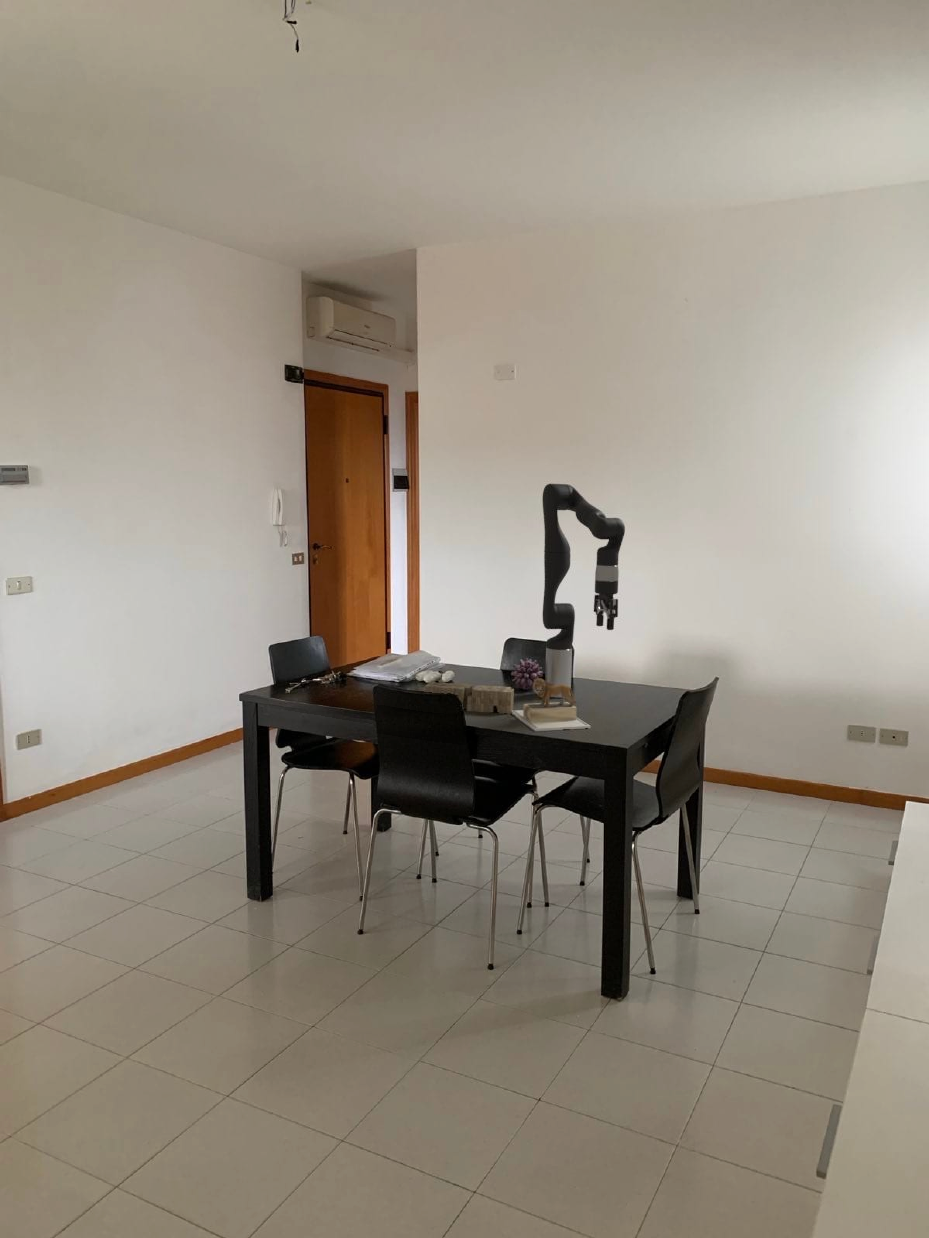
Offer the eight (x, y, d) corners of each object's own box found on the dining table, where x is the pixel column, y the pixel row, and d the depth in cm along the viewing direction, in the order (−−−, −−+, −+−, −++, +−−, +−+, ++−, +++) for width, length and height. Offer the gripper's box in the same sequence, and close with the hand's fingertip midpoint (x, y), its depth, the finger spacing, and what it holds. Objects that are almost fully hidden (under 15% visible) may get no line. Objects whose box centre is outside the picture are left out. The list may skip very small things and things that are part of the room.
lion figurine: (535, 708, 284) (536, 680, 283) (529, 704, 290) (530, 677, 288) (579, 706, 288) (580, 678, 287) (572, 702, 294) (573, 675, 292)
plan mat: (511, 713, 299) (511, 710, 299) (562, 710, 304) (562, 707, 303) (535, 731, 276) (535, 728, 276) (590, 728, 281) (590, 725, 281)
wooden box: (523, 716, 292) (523, 703, 291) (567, 714, 295) (567, 701, 295) (531, 722, 284) (531, 709, 283) (576, 719, 288) (576, 707, 287)
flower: (542, 687, 341) (543, 655, 340) (542, 693, 329) (543, 661, 328) (511, 685, 342) (512, 654, 341) (510, 692, 331) (511, 660, 329)
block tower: (514, 712, 305) (430, 703, 312) (515, 687, 304) (431, 679, 311) (509, 717, 298) (424, 708, 304) (511, 692, 297) (425, 683, 303)
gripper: (587, 577, 304) (586, 625, 306) (604, 581, 290) (602, 631, 293) (608, 577, 306) (606, 624, 308) (626, 581, 292) (624, 630, 294)
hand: (604, 627), depth 300 cm, fingers open, 8 cm apart
